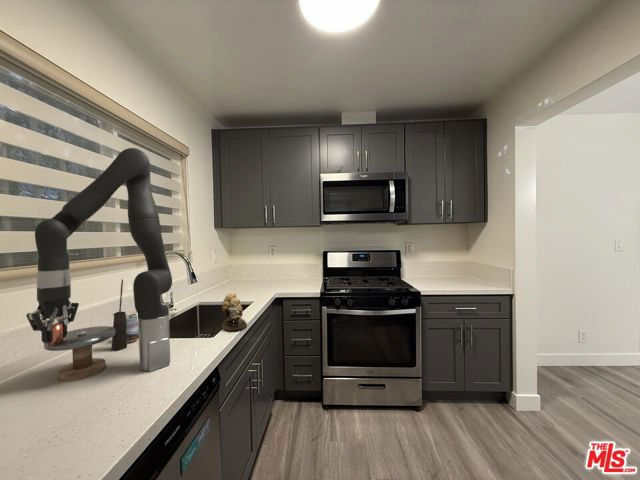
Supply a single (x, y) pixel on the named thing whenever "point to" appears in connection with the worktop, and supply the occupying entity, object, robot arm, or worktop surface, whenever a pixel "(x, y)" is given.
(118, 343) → the butter churn
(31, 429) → the worktop surface
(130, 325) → the beverage can
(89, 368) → the wheel stand
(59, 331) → the grey disc with knob
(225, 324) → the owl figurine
